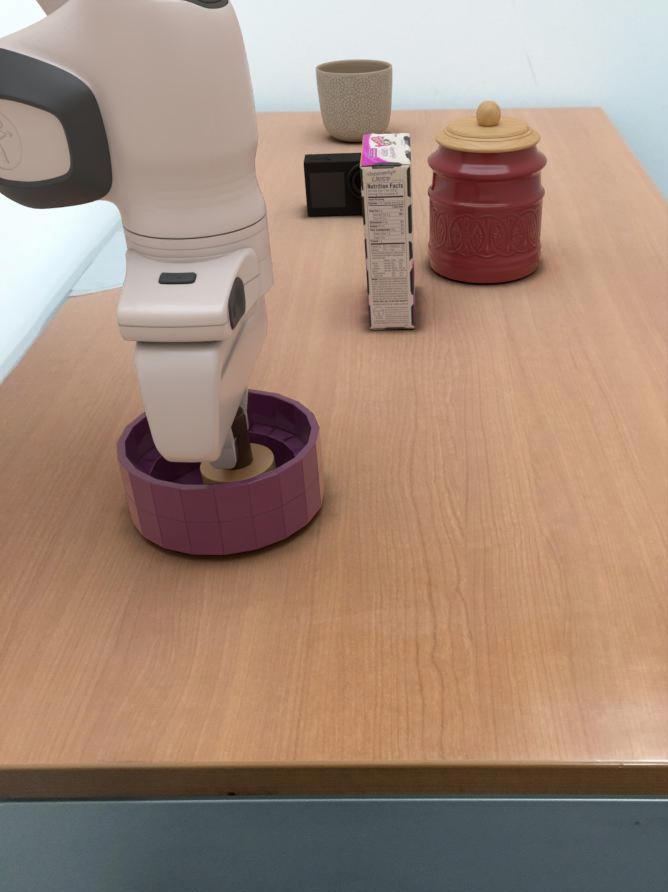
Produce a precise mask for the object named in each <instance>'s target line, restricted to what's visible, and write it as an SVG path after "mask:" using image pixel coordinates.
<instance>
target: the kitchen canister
mask: <svg viewBox="0 0 668 892" xmlns="http://www.w3.org/2000/svg"><path fill="white" fill-rule="evenodd" d="M541 137H542V136H541V134H540V133H539V132H538V131H537V130H535V129H534V128H533V127H531V126H530V125H529V124H528V122H527V121H525V120H523V119H520V118H517V117H511V116H504V115H503V116H502V112H501V107H500V106H499V104H498V103H497V102H496V101H493V100H485V101H482V102H481V103H480V104H479V105H478V107H477V109H476V113H475V115H473V116H467V117H466V116H465V117H461V118H457V119H455V120H452V121H450V122H449V124H448V125H447V126H446V127H444V128H442V129H441V130H440V131H438V132H437V133H436V134H435V138H434V139H435V142H436V143H437V144H438V147H437V149H435V150H434V151H433V152H431V154H430V155H429V156H428V157H427V164H428V166H429V168H430V169H431V170H432V176H431V184H430V185H429V186H428V189H427V195H428V202H429V203H428V204H429V205H428V206H429V207H428V208H429V210H428V211H429V213H428V215H429V216H428V217H429V220H428V221H429V222H428V223H429V239H428V243H427V248H428V250H427V256H428V258H429V264H430V268H431V269H432V270H433V271H434V272H435V273H436V274H438V275H440V276H442V277H444V278H446V279H450V280H454V281H458V282H464V283H473V284H497V283H498V284H499V283H506V282H511V281H516V280H519V279H523V278H524V277H527V276H529V275H531V274H532V273H534V272H535V271H536V269H537V268H538V265H539V261H540V258H541V255H542V251H541V250H542V242H541V232H542V219H543V218H542V217H543V206H544V205H543V203H544V197H545V195H546V189H545V187H544V186H543V185H542V170H543V169H544V168H545V167H546V166H547V163H548V158H547V156H546V155H545V154H544V153H543V152H542V151H541V150H539V149H538V147H537V145H538V144H539V143H540V141H541V140H542V139H541Z"/></svg>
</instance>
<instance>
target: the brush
mask: <svg viewBox="0 0 668 892" xmlns="http://www.w3.org/2000/svg"><path fill="white" fill-rule="evenodd" d="M231 430H232V434H233V437H237V442H238V450H239V456H238V459H237V462H236V465H235V467H234V468H232V469H215V468H213V467H212V466H211V464H210V462H201V465H200V472H201V476H202V480H203V484H204V485H216V484H222V483H229V482H235V481H241V480H246V479H249V478H252V477H255V476H258V475H261V474H264V473H267V472H270V471H273V470H275V469H276V465H275V459H274V455H273V453H272V451H271V450H270V449H268V448H267V447H265V446H263V445H259V444H254V443H250V440H249V435H248V430H247V425H246V420H245V415H244V410H243V408H242V407H240V406H239V408H238V411H237V413H236V416H235V418H234V421H233V423H232V426H231Z"/></svg>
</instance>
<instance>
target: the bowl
mask: <svg viewBox="0 0 668 892" xmlns="http://www.w3.org/2000/svg"><path fill="white" fill-rule="evenodd" d="M247 417H248V424H249V428H248V435H249V440H250V443H254V444H259V445H263V446H265V447H267V448H268V449H270V450H271V451H272V453H273V455H274V459H275V465H276V469H275V470H273V471H270V472H267V473H264V474H261V475H258V476H255V477H252V478H249V479H246V480H241V481H235V482H229V483H222V484H216V485H204V484H203V480H202V476H201V472H200V465H201V462H171V461H168V460H166V459H165V458H164V457H163V456H162V455H161V454H160V453H159V451H158V450H157V448H156V446H155V443H154V441H153V438H152V434H151V430H150V427H149V423H148V420H147V416H146V412H145V411H143V412H141V413H140V414H139V415H138V416H136V417H135V418H134V419H133V420H132V421H130V422H129V423H128V424H127V425H126V426H125V427H124V428H123V430H122V432H121V434H120V436H118V439H117V440H116V444H115V445H116V459H117V463H118V468H119V471H120V472H119V473H120V476H121V481H122V485H123V490H124V495H125V498H126V502H127V507H128V511H129V516H130V520H131V522H132V524H133V525H134V526H135V528H136V530H137V531H138V532H139V533H140V535H141V536H142V537H143V538H144V539H146V540H149V542H152V543H154V544H155V545H157V546H159V547H161V548H163V549H166V550H172V551H174V552H178V553H179V552H180V553H184V554H189V555H193V556H194V555H199V556H201V555H202V556H203V555H204V556H207V555H208V556H210V555H211V556H226V555H232V554H238V553H239V554H240V553H243V552H251V551H256V550H259V549H263V548H264V547H267V546H270V545H273V544H275V543H278V542H280V541H283V540H285V539H288V538H289V537H290V536H292V535H293V534H295V533H296V532H298V531H300V530H301V529H302V528H304V527H306V526H307V525H308V524H309V523H310V522H311V520H313V518H314V517H315V515H316V514H317V513H318V512H319V511H320V509H321V507H322V505H323V500H324V496H325V490H326V489H325V488H326V487H325V476H324V466H323V465H324V464H323V452H322V440H321V429H320V425H319V424H318V421H317V419H316V416H315V414H314V412H312V411H311V410H310V409H309V408H308V407H306V406H305V405H304V404H303V403H301V402H300V401H298V400H296V399H293V398H291V397H288V396H287V395H283V394H280V393H278V392H272V391H266V390H259V389H253V388H248V400H247Z"/></svg>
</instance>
